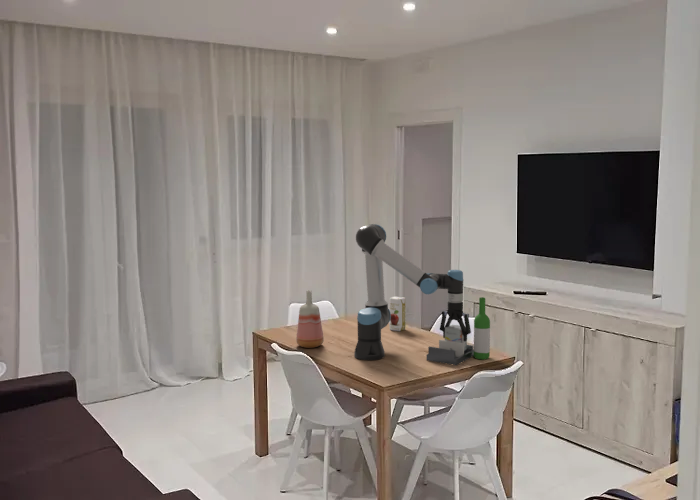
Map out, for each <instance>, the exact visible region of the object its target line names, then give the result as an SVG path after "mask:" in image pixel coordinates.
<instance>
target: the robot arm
mask: <svg viewBox="0 0 700 500" xmlns="http://www.w3.org/2000/svg"><path fill="white" fill-rule="evenodd" d="M386 240H387V232H386V230H385V228H384V227H382V226H381V225H380V224H376V223H375V224H374V223H372V224H368V225H363V226H362V227H360V228H359V229H358V230H357V232H356V234H355V242H356V243H357V246H358V247H359V248H361V253H362V254H364V255H365V257H364V258H365V260H364V261H365V270H366V271H365V273H366V291H367V301H366V302H365V304H364V305H365V307H364V308H362V309H360V310H359V311H357V316H356V320H357V343H356V345H355V349H354V352H353V353H354V358H355V359H359V360H364V361H376V360H381V359H384V358H385V355H386V354H385V352H386V351H385V349H384V346H383V343H382V330H383V329H384V328H386V327H387V326H388V325H389V321H390V319H391V313H390V310H389V303H388V301H387V300H386V299H385V286H384V267H383V263H385V264H387V266H389V267H391V268H392V269H393V270H395V271H396V273H397V272H398V273H399V274H400V275H402V277H405V278H406V279H407V280H408V281H410V282H411V283H413V284H414V285H416V286H417V287H418V288H419V289H420V291H421V292H422V293H423V294H425V295H432V294H434V293H435V292H437V290H447V310H443V311H442V312H441V320H440V325H439V330H440V331H442V333H443V334H442V335H443V339H445V327H448V326H451V324H452V321H457V323H458V325H459V326H460V327H461V329H462V332H463V335H462V343H464V347H465V341H467V342H468V335H469V334H471V333H472V330H471V325H470V320H469V317H470V313H464V302H463V301H464V271H462V270H460V269H449V270H448V271H447V273H432V272H431V273H427V272H426V271H424V270H423V269H422V268H420V267H418V266H417V265H416V264H414V263H413V262H411V261H410V260H409V259H408V258H406V257H404V256H403V255H402V254H400V253H399V252H397V251H396V250H395V249H393V248H392V247H391V246H389V245H387V244H386V243H385V242H386ZM447 315H448V318H447ZM462 317H463V318H462ZM463 319H464V321H463ZM446 320H447V321H446ZM465 327H466V328H465Z"/></svg>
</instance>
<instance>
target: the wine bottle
mask: <svg viewBox="0 0 700 500" xmlns="http://www.w3.org/2000/svg"><path fill="white" fill-rule="evenodd" d="M478 302H479V303H478V307H479V308H478V314H477V315H476V316H475V317H474V319H473V349H474V356H473V358H474V359H475V360H476V359H477V360H480V359H481V360H483V361H484V359H485V360H488V359H489V358H490V353H491V352H490V350H491V349H490V348H491V345H490V344H491V342H490V341H491V339H490V338H491V321H490V318H489V316H488V315H487V314H486V297H484V296H483V297H479V300H478Z"/></svg>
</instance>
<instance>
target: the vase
mask: <svg viewBox="0 0 700 500" xmlns="http://www.w3.org/2000/svg"><path fill="white" fill-rule="evenodd" d="M312 293H313V292H312V290H306V303H305V304H303V305H301V306H300V307H299V311H298V320H297V326H296V327H297V328H296V338H295V339H296V344H297V345H298V346H299V347H302V348H305V349H313V348H317V347H320V346H322V345H323V343H324V341H325V338H324V337H325V335H324V330H323V325H322V318H321V313H320V307H319V306H318V305H316V304H314V303H313V298H312V297H313V296H312V295H313V294H312Z"/></svg>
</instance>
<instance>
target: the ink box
mask: <svg viewBox="0 0 700 500" xmlns="http://www.w3.org/2000/svg"><path fill="white" fill-rule="evenodd" d="M444 327H445V326H444ZM465 328H466V327H465ZM462 335H463V332H462V329H461V327H460V325H459V324H452V325H451V324H450V326H448V327H445V338H444V340H446V341H452V342H459V343H462ZM467 345H468V340H467V341H465V347H464V350H466V349H467Z"/></svg>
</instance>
